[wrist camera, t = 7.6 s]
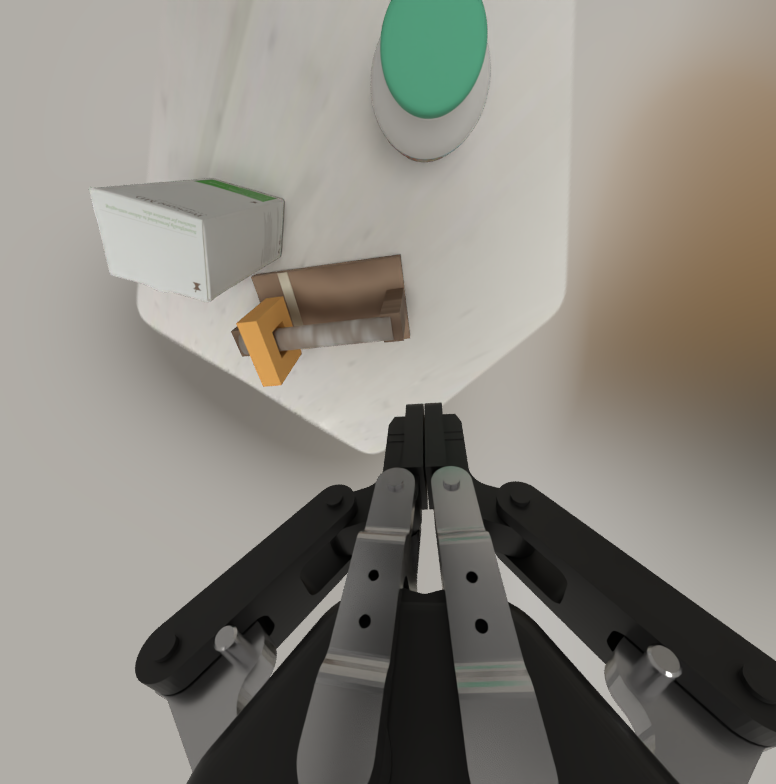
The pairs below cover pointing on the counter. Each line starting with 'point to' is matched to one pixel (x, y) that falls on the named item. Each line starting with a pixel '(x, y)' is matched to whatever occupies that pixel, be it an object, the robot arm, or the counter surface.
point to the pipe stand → (337, 304)
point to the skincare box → (188, 234)
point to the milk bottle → (430, 75)
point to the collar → (268, 340)
